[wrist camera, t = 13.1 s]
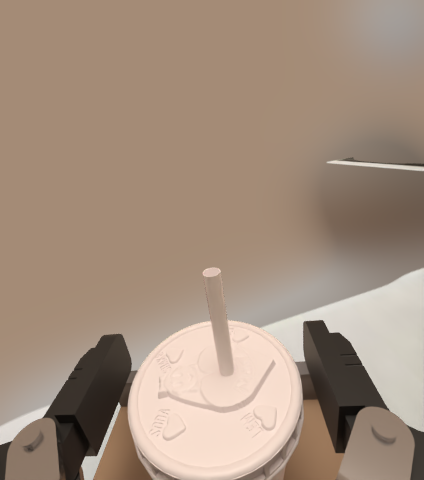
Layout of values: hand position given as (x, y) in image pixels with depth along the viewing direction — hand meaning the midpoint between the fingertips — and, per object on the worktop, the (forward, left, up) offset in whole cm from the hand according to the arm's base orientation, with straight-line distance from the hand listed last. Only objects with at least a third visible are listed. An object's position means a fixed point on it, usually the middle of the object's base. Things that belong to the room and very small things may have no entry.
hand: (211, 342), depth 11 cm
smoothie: (-1, -2, -10) cm, 10 cm away
